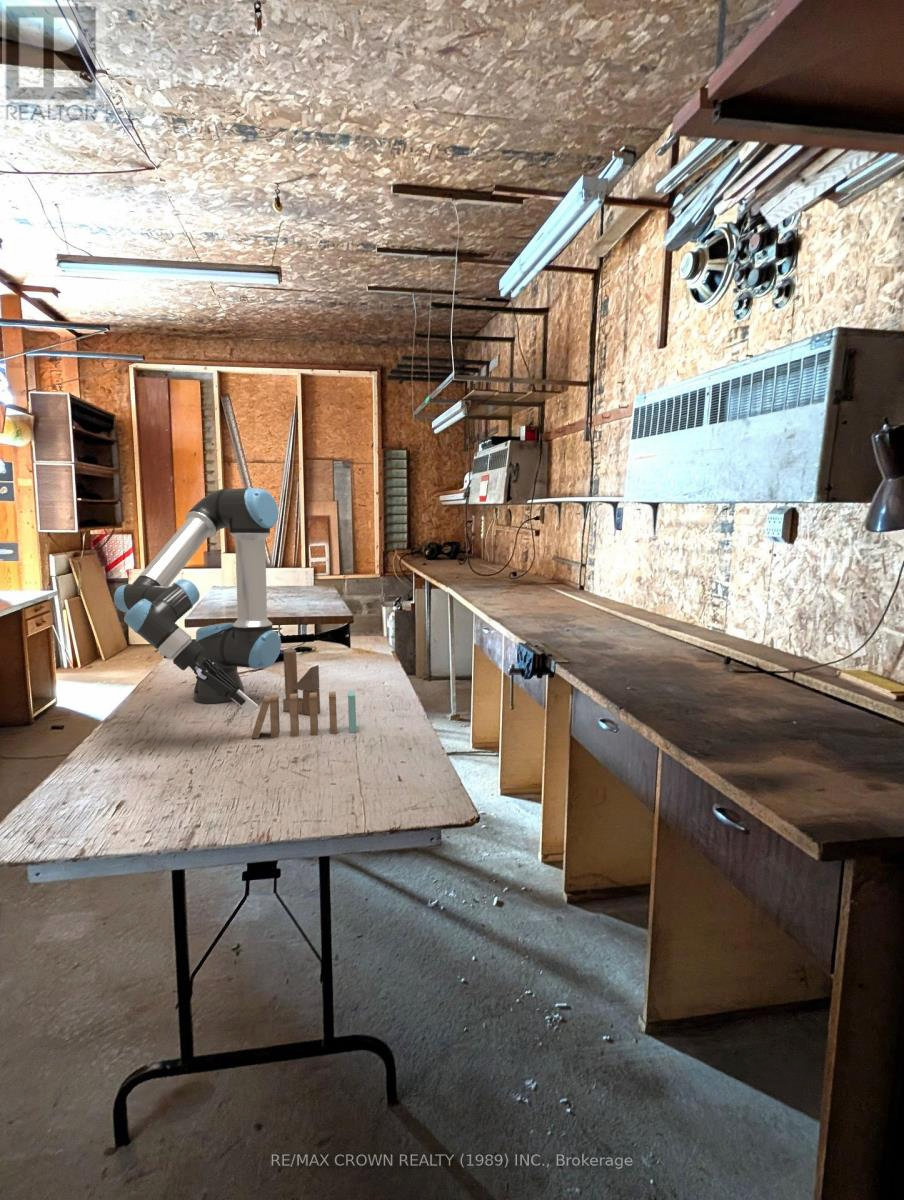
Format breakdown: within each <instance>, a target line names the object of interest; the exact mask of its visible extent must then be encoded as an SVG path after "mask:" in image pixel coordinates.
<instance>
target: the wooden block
mask: <svg viewBox="0 0 904 1200" xmlns="http://www.w3.org/2000/svg"><path fill="white" fill-rule="evenodd" d="M297 658H298V657H297V650H296V649H285V650H284V651H283V670H284V673H283V674H284V691H285V692H284V694H285V698H284V699H282V709H283V712H288V713H290V704H289V698H290V694H298V695H299V691H302V697H298V714H302V715H306V716H307V715H308V716H310V706H309V696H310V693H317V713H318V714H319V713H321V700H320V699H321V697H320V696H321V695H320V671H319V668H320V667H319V664H317V665H314V666H312V667H310V668H309V669H308V670H307V672H306V673H304V675H302V677H301V678H300V679H299V681H298V663H297V662H298V661H297Z"/></svg>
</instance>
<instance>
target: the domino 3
mask: <svg viewBox="0 0 904 1200" xmlns="http://www.w3.org/2000/svg"><path fill="white" fill-rule="evenodd" d="M298 698H299V693H298V694H290V698H289V704H290V712H289V723H290V737H291V738H292V737H299V732H300V725H299V724H300V722H299V721H300V720H299V713H298Z"/></svg>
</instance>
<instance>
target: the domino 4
mask: <svg viewBox="0 0 904 1200" xmlns="http://www.w3.org/2000/svg"><path fill="white" fill-rule="evenodd" d="M309 706H310V715H309V723H310V724H309V725H310V726H309V727H310V728H309V729H310V736H318V735H319V720H318V719H319V718H318V717H319V716H318V714H319V713H317V693H310V696H309Z"/></svg>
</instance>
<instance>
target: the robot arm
mask: <svg viewBox="0 0 904 1200" xmlns="http://www.w3.org/2000/svg"><path fill="white" fill-rule="evenodd" d="M184 519H185V521H184V522H183V523H182V525H181V526H180V527H179V528H178V529H177V531H176V532H175V533H174V534H173V535H172V536H171V537H170V538H169V540H168V541H167V542H166V544H165V545H164V546H163V547H162V548H161V549H160V551H159V552H158V553H156V556H154V558H153V559H152V560H151V561H150V562H149V564H148V565H147V566H146V567H145V568H144V569H143V571H142V572H141V573H140V574H139V575H138V576H137V578H136V579H135V580H134V581H133V582H132V584H131V583H127V584H122V585H121V586H119V587H117V589H116V590H115V592H114V596H113V600H114V604H115V606H116V607H117V609H118V610H119V611H120V612H122V613H123V612H124V613H126V614H125V615H124V618H123V621H124V623H126V624H127V626H129V628H131V629H132V630H133V631H134V633H136V634H137V635H138V636H139V637H141V638H143V640H145V641H146V642H147V643H149V644H150V645H151V646H152V647H153V648H155V649H156V650H157V651H159V655H160V656H164V657H166V658H167V659H168V660H171V659H172V663H173V665H175V666H176V667H177V668H179V669H180V670H182V671H185V670H187V668H188V667H189V668H190V669H191V671H193V673H194V674H195V675H196V676H195V678H196V682H195V685H194V688H193V701H195V702H196V703H199V704H221V703H228V702H235V704H237V705H238V706H239V707H240V708H242V709H243V710H244V711H245V712H246V713H248V714H249V715H251V714H253V712H255V711H256V710H257V709H258V707H259V705H258V704H257V703H256V702H255V701H254V700H252V699H251V698H249V696H248V695H247V694H245V687H244V684H243V681H242V679H241V677H240V674H239V671H238V667H239V668H247V669H254V670H256V669H262V670H263V669H267V668H270V667H271V666H272V665H273V664H274V663H275V662H276V660H277V659H278V657H279V655H280V652H281V647H282V640H281V639H282V638H281V636H280V635H279V633H278V632H277V631H275V630H273V622H272V621H270V619H268V609H267V608H268V605H267V603H268V602H267V600H268V599H267V558H266V556H267V553H266V552H267V551H266V539H267V538H268V537H269V536H270V535H271V528H273V527H274V526H275V525H276V524H277V521H278V519H279V508H278V504H277V501H276V499H275V498H274V496H273V495H272V494H271V493H270V492H269V491H268V490H266V489H265V488H259V487H258V488H257V487H255V488H254V487H248V488H247V487H246V488H245V487H244V488H243V487H242V488H221V489H217V490H214V491H213V492H210V493H209V494H207V495H206V496H204V497H203V498H201V499H200V500H199V501H197V502H196V504H194V505H193V506H192V508H191V509H190V510H189V511H188V512H187V513H186V515H185V518H184ZM225 528H229V535H230V536H232V537H233V539H234V540H235V572H236V573H235V574H236V575H235V577H236V605H237V606H236V609H237V611H236V612H237V619H236V620H235V622H224V623H223V622H222V623H215V624H210V625H206V626H201V627H199V628H198V629H197V630H196V632H195V639H194V640H192V636H191V635H190V634H189V633H187V632H186V631H185V630H184V629H183V628H181V627H180V626H179V625H178V624H177V623H176V622H177V621H179V620H180V619H181V618H182V617H183V616H184V615H185V614H186V613H188V612H189V611H190V610H191V609H192V608H193V607H194V606H195V604H196V603H197V602H199V600H200V591H199V590H198V589H199V588H198V587H197V585H195V583H194V582H192V581H190V580H188V579H186V578H185V579H184V578H181V579H178V580H176V581H175V582H173V581H174V580H175V578H176V577H177V576H178V575H179V574H180V572H181V571H182V570H183V569H184V567H185V566H186V565H187V564H188V563H189V561H190V560H191V558H192V557H193V556H194V555H195V554H196V552H197V551H198V550H199V549H200V547H201V546H202V545H203V543H204V542H205V541H206V540H207V539H208V538H211V537H214V536H215V534H217V532H219V531H220V530H223V529H225ZM172 582H173V583H172ZM171 583H172V584H171Z"/></svg>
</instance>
